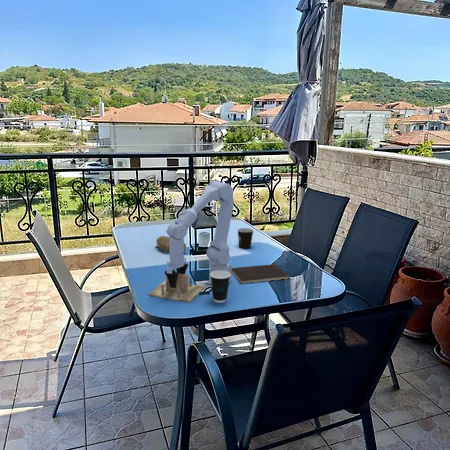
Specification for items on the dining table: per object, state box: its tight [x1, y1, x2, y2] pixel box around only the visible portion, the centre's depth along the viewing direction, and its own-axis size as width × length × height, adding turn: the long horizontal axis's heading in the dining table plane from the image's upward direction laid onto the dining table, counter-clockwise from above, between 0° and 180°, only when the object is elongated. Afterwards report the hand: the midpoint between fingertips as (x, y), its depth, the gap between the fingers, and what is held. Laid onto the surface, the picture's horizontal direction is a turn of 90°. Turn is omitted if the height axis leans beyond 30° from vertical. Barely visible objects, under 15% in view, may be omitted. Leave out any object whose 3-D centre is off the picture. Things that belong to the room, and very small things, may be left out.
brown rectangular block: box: [165, 273, 189, 292], centre depth 168 cm, size 9×2×7 cm, turn 71°
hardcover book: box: [232, 263, 290, 284], centre depth 189 cm, size 16×23×2 cm
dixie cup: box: [210, 271, 230, 304], centre depth 161 cm, size 8×8×11 cm
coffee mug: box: [237, 227, 254, 250], centre depth 229 cm, size 12×9×10 cm
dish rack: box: [148, 276, 205, 304], centre depth 168 cm, size 18×15×5 cm
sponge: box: [156, 235, 187, 253], centre depth 221 cm, size 13×8×20 cm
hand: (176, 284), depth 168 cm, fingers open, 7 cm apart
